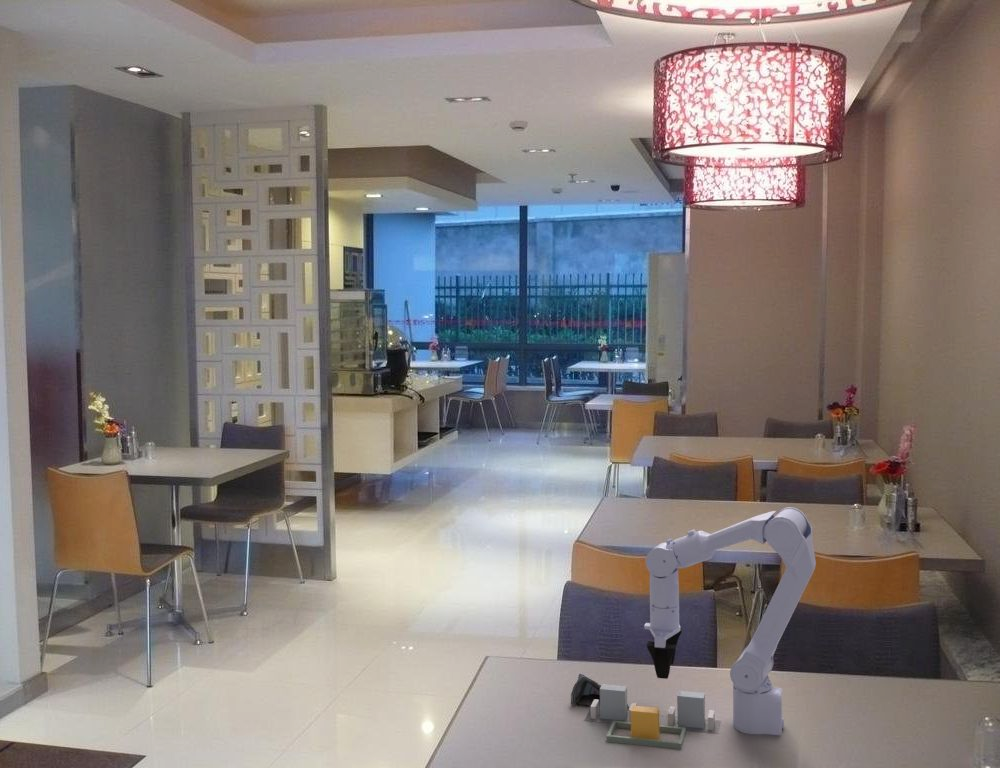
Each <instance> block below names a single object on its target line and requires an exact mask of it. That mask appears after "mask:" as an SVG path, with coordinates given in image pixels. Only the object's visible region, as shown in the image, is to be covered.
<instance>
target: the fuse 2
mask: <svg viewBox="0 0 1000 768" xmlns="http://www.w3.org/2000/svg"><path fill="white" fill-rule="evenodd" d="M676 696H677V697H676V702H677V704H676V705H677V707H676V708H677V709H676V710H677V713H676V715H677V717H678V726H684V727H694V728H704V726H705V719H706V693H705V692H697V691H686V690H684V691H683V690H678V692H677V695H676Z"/></svg>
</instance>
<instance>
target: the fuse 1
mask: <svg viewBox="0 0 1000 768" xmlns="http://www.w3.org/2000/svg"><path fill="white" fill-rule="evenodd" d="M599 696H600V697H599V709H600V718H602V719H612V720H622V721H625V720H626V718H627V716H628V712H629V711H628V710H627V704H628V686H627V685H617V684H606V683H605V684H604V683H602V684H601V687H600V695H599Z"/></svg>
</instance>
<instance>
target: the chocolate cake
mask: <svg viewBox="0 0 1000 768" xmlns="http://www.w3.org/2000/svg"><path fill="white" fill-rule="evenodd" d="M601 686H602V684H601V685H600V684H599V682H596V681H595V680H593V679H592V678H590V677H587V676H586V675H584V674H582V673H579V674H578V677H577V680H576V681H575V684H574V685H573V687H572V691H571V693H570V706H571V707H574V706H577V707H583V708H591V705H588V704H583V703H582V704H581V703H579V702H580V700H581V699H582V697H583V696H590V695H596V696H598V697H599V698H600V687H601ZM629 708H630V706H629V704H628V703H627V710H628V712H629Z"/></svg>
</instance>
